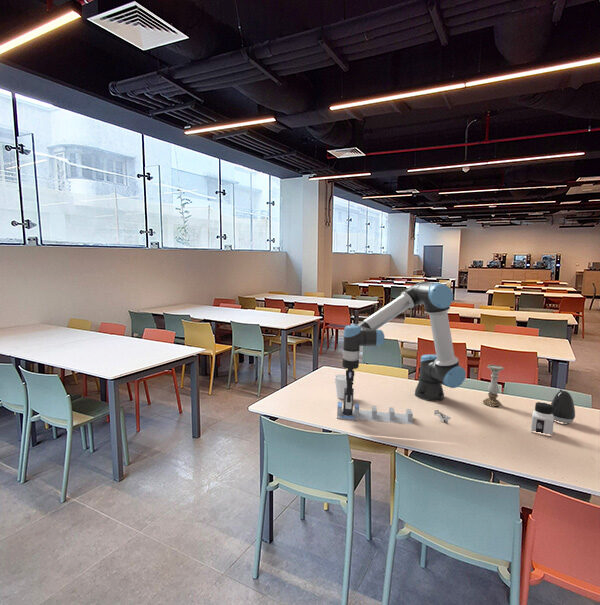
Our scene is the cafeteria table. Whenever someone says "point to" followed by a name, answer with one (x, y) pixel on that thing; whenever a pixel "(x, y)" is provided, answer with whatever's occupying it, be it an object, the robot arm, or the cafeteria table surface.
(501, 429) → the cafeteria table surface
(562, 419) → the black egg shaped speaker
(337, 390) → the cup
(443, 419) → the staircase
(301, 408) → the cafeteria table surface
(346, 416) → the grey slotted rack
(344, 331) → the robot arm
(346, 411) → the dark grey tall block
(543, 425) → the container
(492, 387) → the candle holder
